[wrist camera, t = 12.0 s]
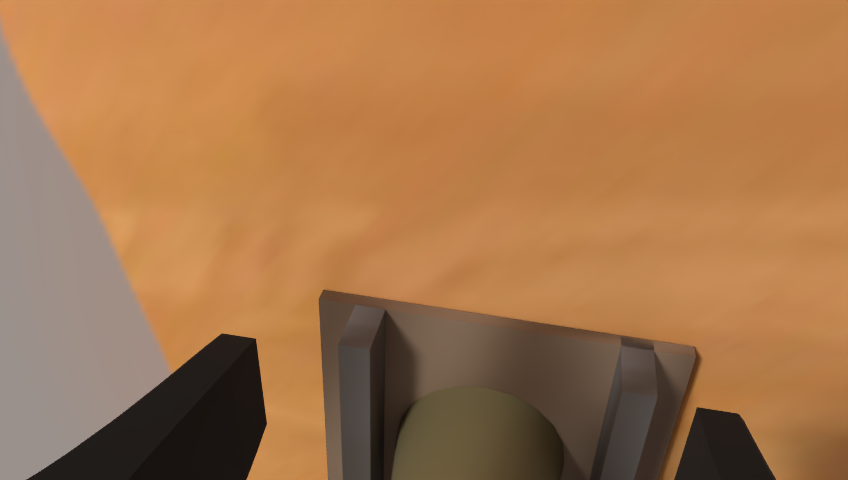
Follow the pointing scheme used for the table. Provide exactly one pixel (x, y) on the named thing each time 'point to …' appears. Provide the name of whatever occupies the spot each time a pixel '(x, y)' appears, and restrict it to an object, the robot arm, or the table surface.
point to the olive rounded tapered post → (476, 438)
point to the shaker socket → (495, 383)
